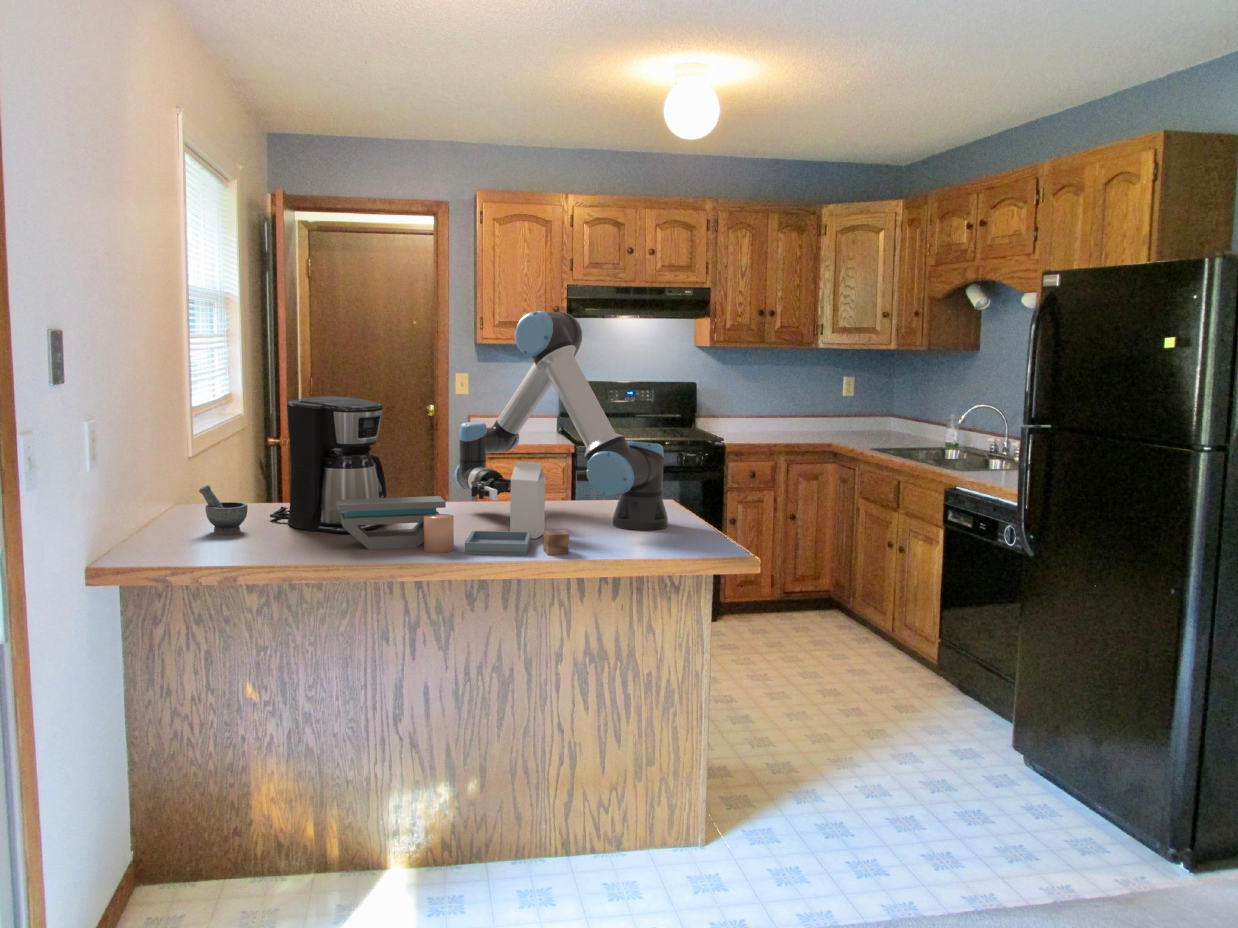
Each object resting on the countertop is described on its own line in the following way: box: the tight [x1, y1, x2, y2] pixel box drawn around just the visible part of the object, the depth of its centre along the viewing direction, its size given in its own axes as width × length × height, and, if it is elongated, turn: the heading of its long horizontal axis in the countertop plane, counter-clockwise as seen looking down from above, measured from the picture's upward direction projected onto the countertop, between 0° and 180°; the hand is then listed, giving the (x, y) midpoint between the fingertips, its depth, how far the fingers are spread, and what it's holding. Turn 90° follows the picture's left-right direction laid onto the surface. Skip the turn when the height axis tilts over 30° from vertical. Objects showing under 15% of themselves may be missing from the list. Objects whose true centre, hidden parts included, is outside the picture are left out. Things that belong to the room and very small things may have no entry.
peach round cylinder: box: [423, 513, 455, 554], centre depth 235 cm, size 7×7×8 cm
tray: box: [464, 530, 532, 556], centre depth 239 cm, size 15×15×3 cm
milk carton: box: [509, 461, 546, 539], centre depth 253 cm, size 7×7×19 cm
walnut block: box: [543, 529, 570, 556], centre depth 235 cm, size 5×5×5 cm
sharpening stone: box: [336, 495, 447, 550], centre depth 239 cm, size 25×8×11 cm, turn 111°
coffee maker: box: [269, 395, 387, 535], centre depth 259 cm, size 23×32×34 cm
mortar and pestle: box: [198, 484, 248, 535], centre depth 248 cm, size 11×9×12 cm
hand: (520, 493), depth 256 cm, fingers open, 13 cm apart
